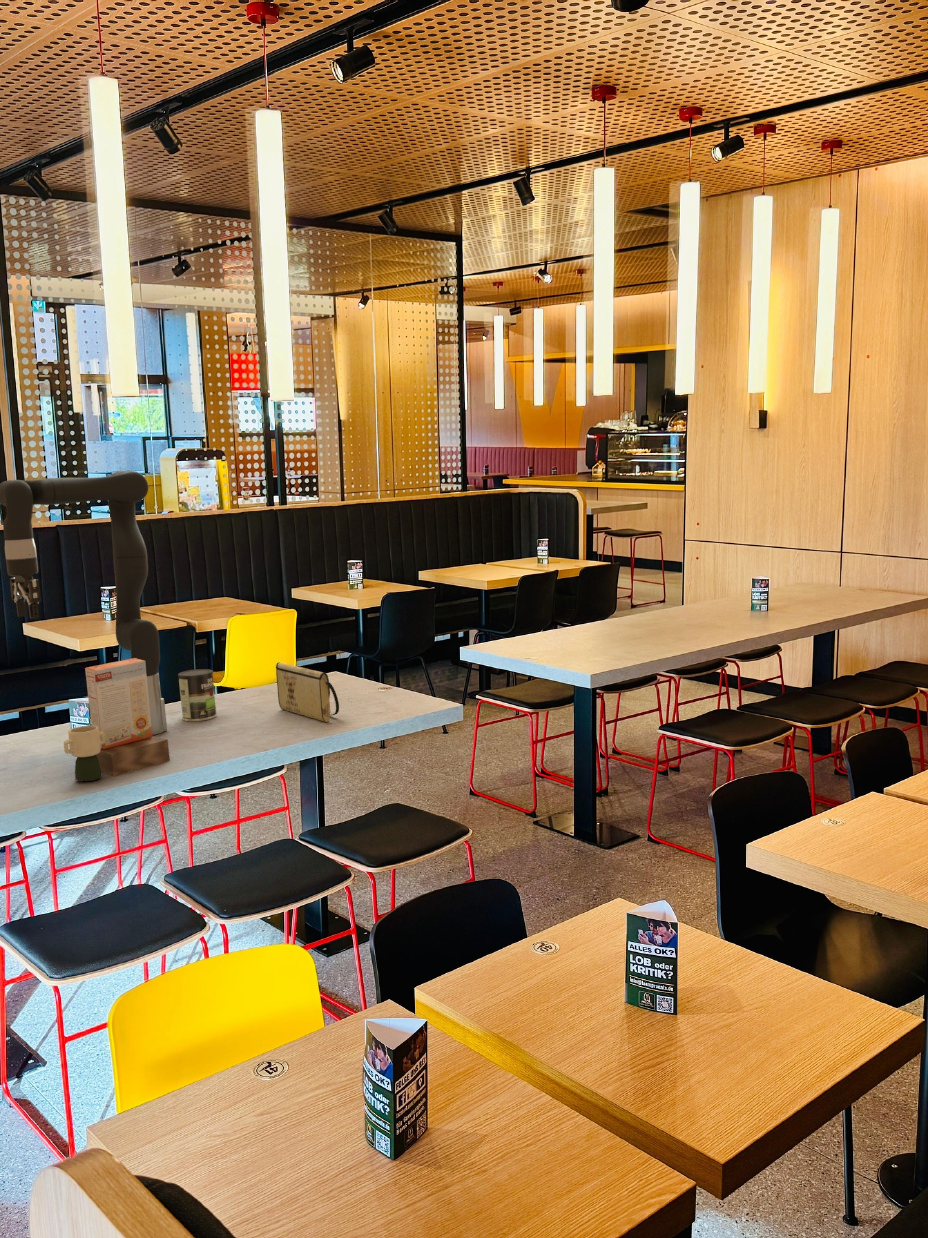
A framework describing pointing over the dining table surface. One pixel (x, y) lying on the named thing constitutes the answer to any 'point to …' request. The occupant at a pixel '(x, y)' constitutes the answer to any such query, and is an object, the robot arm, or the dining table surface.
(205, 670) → the coffee can
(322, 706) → the clutch purse
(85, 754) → the character mug
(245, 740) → the dining table surface
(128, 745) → the walnut block
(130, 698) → the cracker box
